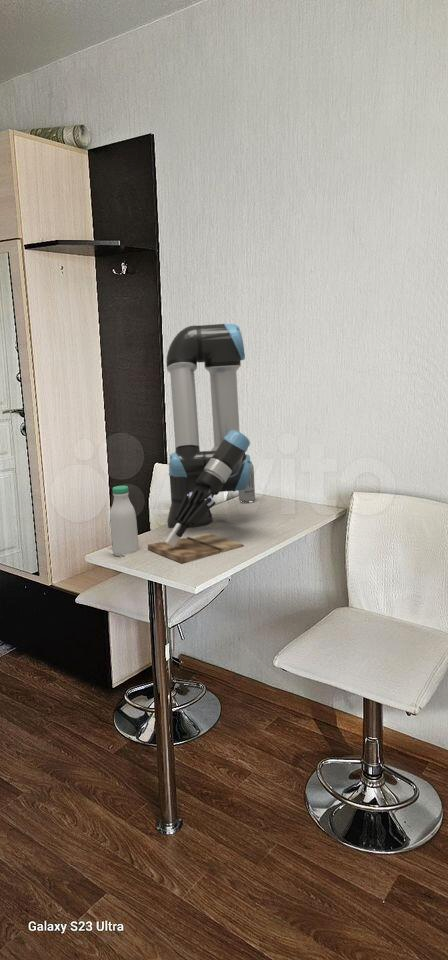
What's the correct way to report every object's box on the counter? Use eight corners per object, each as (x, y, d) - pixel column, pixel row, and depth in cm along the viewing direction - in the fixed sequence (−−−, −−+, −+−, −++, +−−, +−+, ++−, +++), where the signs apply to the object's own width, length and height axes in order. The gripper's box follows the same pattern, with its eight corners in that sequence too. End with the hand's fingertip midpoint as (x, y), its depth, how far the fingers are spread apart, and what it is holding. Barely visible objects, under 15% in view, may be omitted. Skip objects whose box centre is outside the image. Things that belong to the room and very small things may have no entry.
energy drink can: (247, 504, 257) (245, 464, 254) (235, 502, 261) (233, 462, 258) (258, 500, 261) (256, 461, 258) (246, 499, 265) (244, 460, 262)
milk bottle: (144, 552, 206) (139, 485, 202) (123, 558, 201) (117, 491, 197) (128, 547, 211) (123, 483, 207) (107, 554, 206) (101, 487, 202)
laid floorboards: (186, 543, 213) (186, 537, 212) (208, 537, 217) (207, 531, 217) (221, 555, 198) (221, 549, 198) (244, 549, 203) (243, 543, 202)
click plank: (184, 542, 212) (147, 549, 204) (184, 538, 212) (147, 544, 204) (220, 555, 198) (181, 563, 190) (220, 550, 198) (181, 557, 190)
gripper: (234, 487, 201) (190, 556, 195) (208, 481, 211) (165, 546, 205) (218, 472, 197) (173, 542, 191) (192, 467, 207) (148, 533, 201)
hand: (169, 544), depth 198 cm, fingers closed
